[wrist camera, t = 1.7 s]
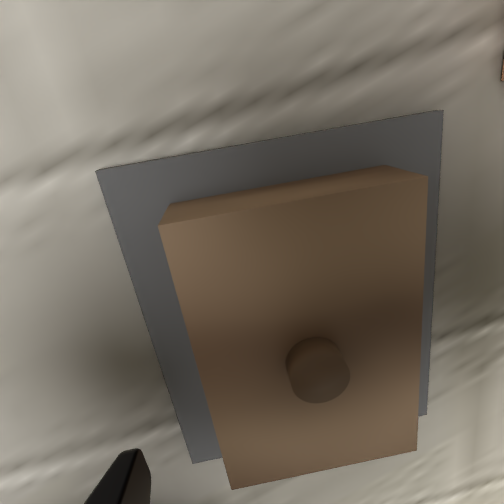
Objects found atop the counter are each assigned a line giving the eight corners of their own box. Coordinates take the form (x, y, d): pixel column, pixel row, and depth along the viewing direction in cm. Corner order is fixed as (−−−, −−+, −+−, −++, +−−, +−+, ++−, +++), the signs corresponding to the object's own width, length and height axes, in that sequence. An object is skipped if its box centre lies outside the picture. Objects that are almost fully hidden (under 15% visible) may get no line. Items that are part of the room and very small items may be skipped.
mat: (421, 407, 15) (426, 414, 14) (193, 454, 14) (192, 463, 14) (434, 110, 10) (443, 110, 10) (99, 169, 10) (95, 171, 9)
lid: (386, 400, 14) (430, 472, 11) (229, 433, 13) (232, 515, 11) (384, 164, 10) (449, 182, 7) (169, 203, 10) (151, 236, 7)
